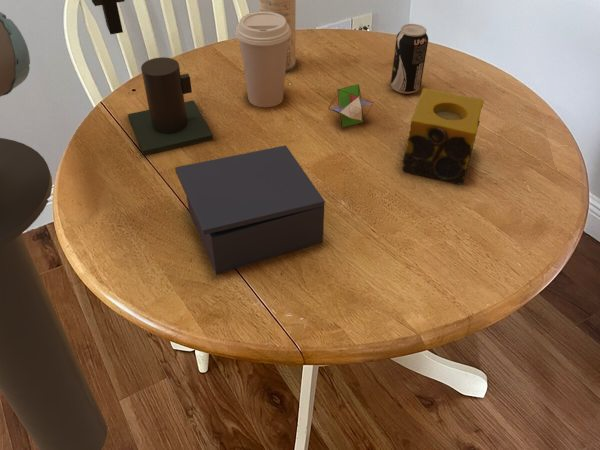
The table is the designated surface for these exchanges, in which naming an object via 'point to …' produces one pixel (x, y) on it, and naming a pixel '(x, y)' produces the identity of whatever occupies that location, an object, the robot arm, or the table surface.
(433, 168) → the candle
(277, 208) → the chest lid
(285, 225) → the chest
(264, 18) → the coffee cup
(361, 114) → the geometric puzzle
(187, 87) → the brown mug
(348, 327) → the table surface
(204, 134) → the trivet
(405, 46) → the beverage can
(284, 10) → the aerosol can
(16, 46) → the robot arm
